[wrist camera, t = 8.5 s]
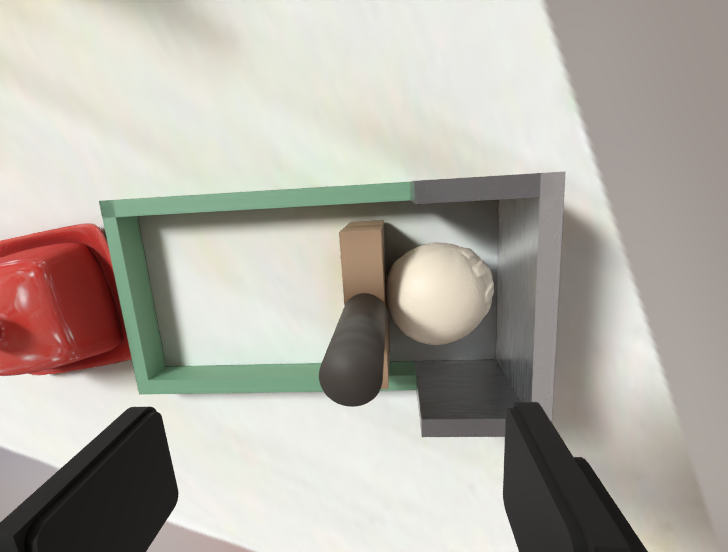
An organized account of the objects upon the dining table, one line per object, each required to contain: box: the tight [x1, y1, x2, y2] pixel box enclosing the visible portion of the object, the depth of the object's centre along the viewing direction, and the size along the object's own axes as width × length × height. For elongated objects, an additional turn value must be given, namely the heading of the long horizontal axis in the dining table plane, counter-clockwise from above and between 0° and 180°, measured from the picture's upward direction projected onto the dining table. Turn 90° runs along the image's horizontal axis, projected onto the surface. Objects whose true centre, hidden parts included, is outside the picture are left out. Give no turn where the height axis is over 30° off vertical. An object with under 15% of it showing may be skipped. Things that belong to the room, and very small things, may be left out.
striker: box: [319, 220, 390, 407], centre depth 23 cm, size 10×3×14 cm, turn 3°
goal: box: [410, 172, 565, 437], centre depth 26 cm, size 15×8×8 cm, turn 4°
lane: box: [99, 182, 417, 394], centre depth 30 cm, size 15×22×2 cm
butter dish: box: [0, 224, 132, 376], centre depth 28 cm, size 12×12×8 cm
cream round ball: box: [385, 243, 494, 345], centre depth 26 cm, size 7×7×7 cm
